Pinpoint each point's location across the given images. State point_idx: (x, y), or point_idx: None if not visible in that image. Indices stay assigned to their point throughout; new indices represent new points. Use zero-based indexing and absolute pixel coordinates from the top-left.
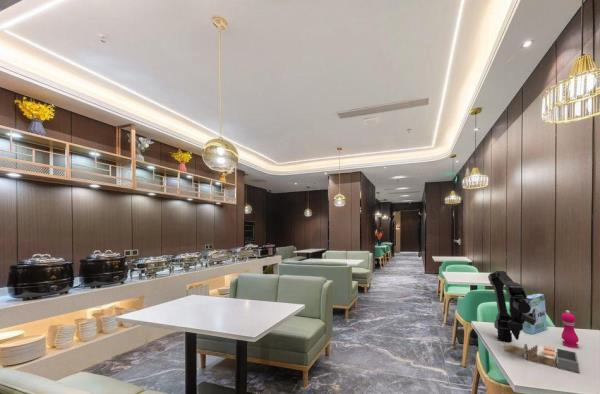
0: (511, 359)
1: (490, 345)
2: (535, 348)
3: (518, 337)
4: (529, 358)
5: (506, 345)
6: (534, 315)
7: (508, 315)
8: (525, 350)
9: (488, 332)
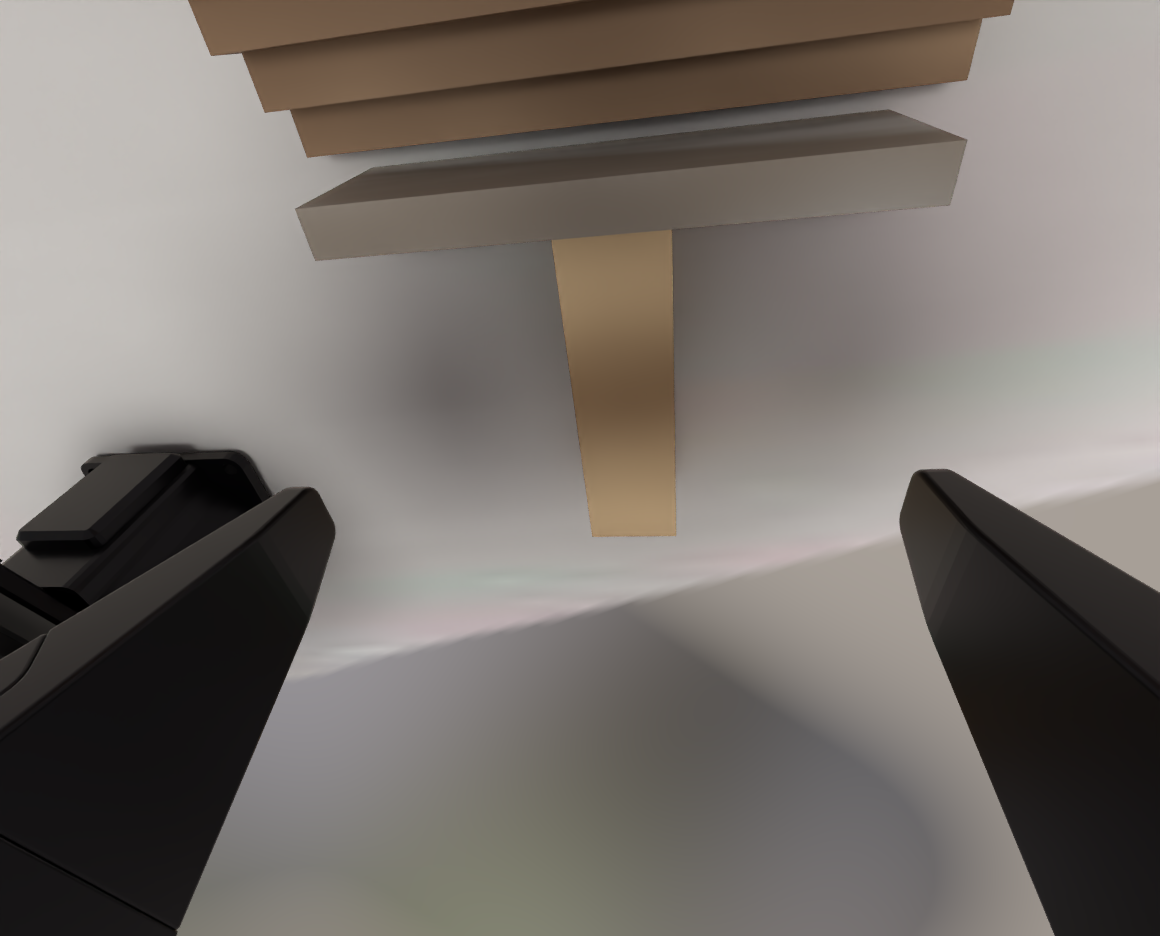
0: (1047, 346)
1: (597, 603)
2: None
3: (1035, 526)
4: (960, 30)
5: (654, 507)
6: None
7: None
8: (875, 165)
9: None
